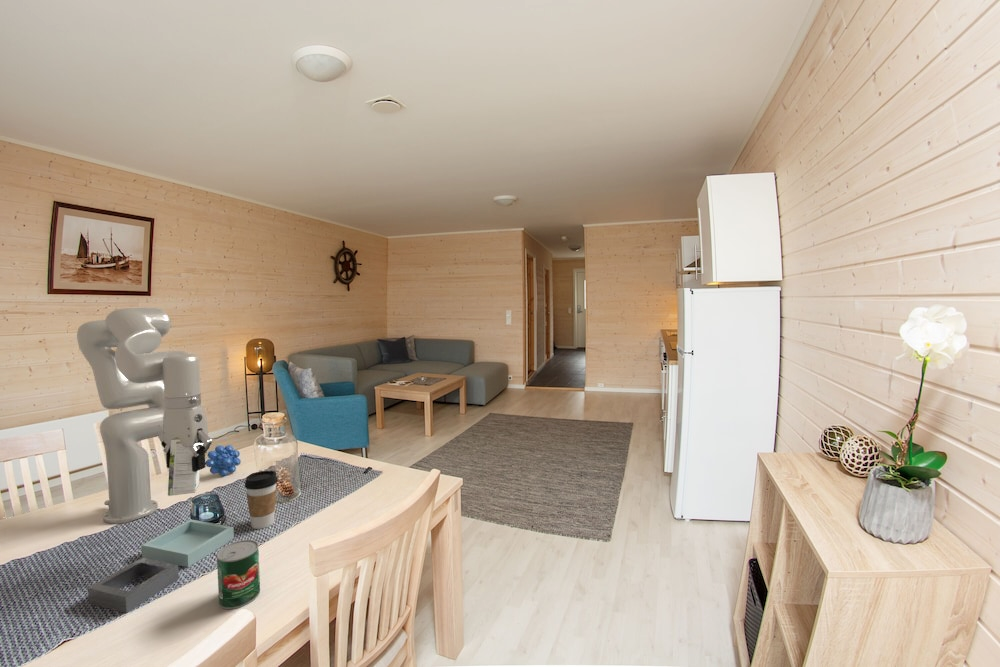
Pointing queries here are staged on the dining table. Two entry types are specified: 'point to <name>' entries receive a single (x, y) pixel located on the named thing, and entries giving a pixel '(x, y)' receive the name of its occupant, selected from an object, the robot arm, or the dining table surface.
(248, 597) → the canned tomato
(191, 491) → the syrup box
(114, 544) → the dining table surface
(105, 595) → the collar
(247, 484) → the coffee cup
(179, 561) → the tray
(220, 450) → the grapes
